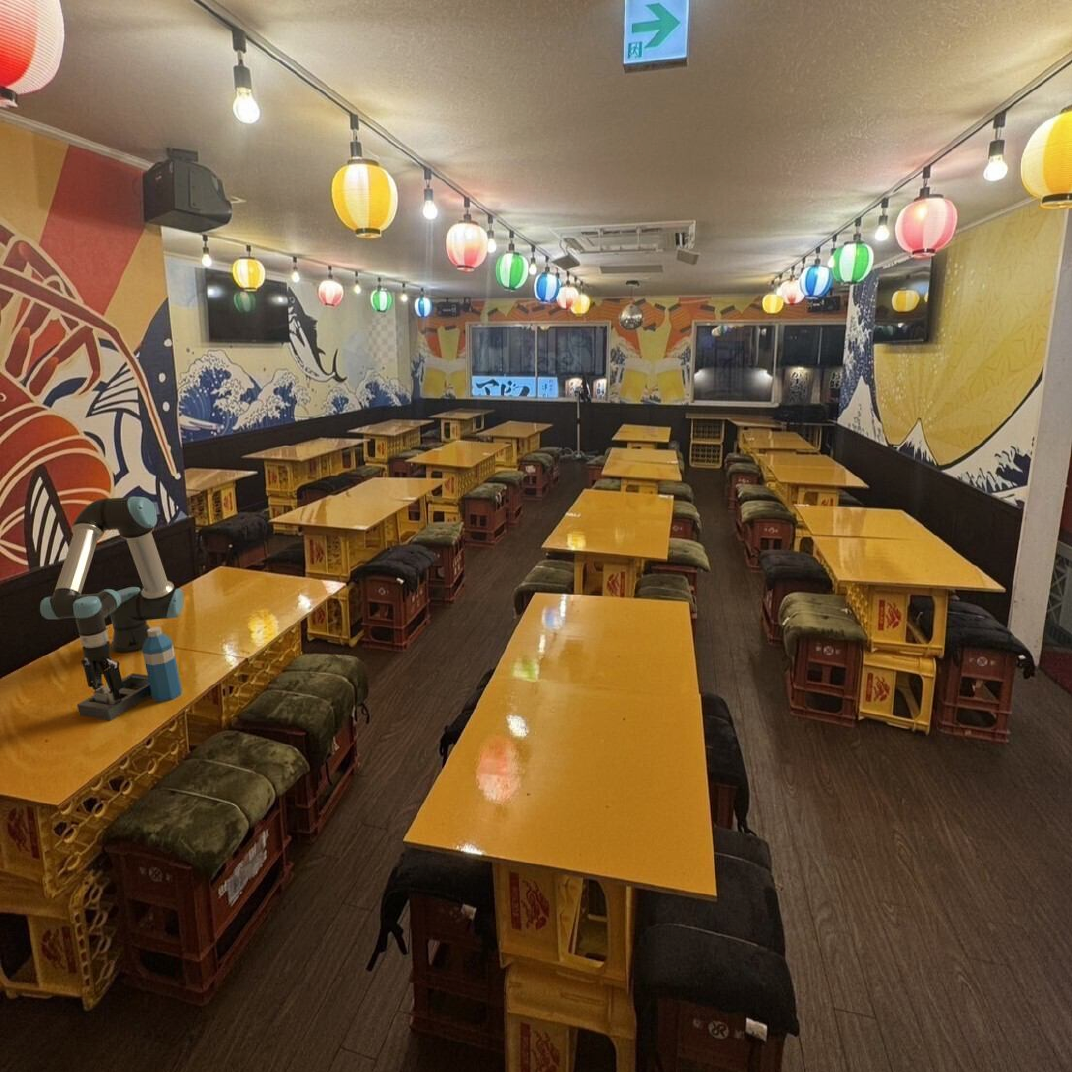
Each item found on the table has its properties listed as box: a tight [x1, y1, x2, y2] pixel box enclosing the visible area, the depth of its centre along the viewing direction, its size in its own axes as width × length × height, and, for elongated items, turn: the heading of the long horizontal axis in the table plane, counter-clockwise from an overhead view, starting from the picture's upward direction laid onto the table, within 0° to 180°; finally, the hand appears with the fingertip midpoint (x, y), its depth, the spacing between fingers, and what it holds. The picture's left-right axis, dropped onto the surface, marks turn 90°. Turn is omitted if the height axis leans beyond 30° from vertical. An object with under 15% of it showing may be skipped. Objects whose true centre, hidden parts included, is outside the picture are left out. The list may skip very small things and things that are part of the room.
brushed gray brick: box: [92, 684, 121, 705], centre depth 226 cm, size 5×5×7 cm
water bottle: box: [141, 626, 183, 703], centre depth 231 cm, size 9×9×25 cm
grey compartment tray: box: [76, 672, 152, 721], centre depth 231 cm, size 22×13×4 cm, turn 163°
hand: (110, 706), depth 227 cm, fingers closed on brushed gray brick, 5 cm apart
